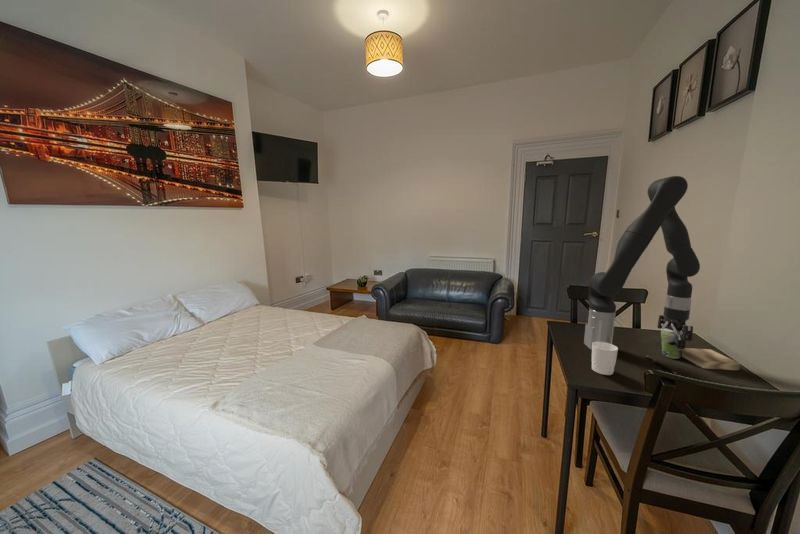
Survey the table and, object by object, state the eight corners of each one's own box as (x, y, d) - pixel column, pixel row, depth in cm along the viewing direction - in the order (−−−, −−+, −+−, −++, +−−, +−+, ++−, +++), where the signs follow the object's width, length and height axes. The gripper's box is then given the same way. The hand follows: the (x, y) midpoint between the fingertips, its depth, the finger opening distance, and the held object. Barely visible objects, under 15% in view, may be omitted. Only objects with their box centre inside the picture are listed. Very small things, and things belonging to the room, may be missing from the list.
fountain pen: (679, 376, 103) (680, 372, 103) (676, 376, 103) (676, 372, 103) (645, 357, 117) (645, 354, 117) (642, 357, 117) (642, 354, 117)
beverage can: (685, 360, 114) (690, 332, 112) (664, 359, 115) (668, 331, 113) (674, 353, 120) (678, 327, 118) (654, 352, 121) (658, 326, 119)
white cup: (595, 363, 112) (597, 339, 110) (618, 372, 105) (621, 347, 104) (585, 369, 108) (588, 344, 106) (609, 378, 101) (612, 352, 100)
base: (702, 368, 108) (704, 360, 107) (677, 354, 119) (678, 347, 119) (739, 370, 106) (740, 363, 106) (709, 355, 118) (710, 349, 117)
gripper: (653, 301, 121) (649, 337, 124) (681, 311, 108) (675, 351, 110) (673, 302, 120) (668, 337, 123) (703, 312, 106) (697, 352, 109)
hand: (672, 344), depth 116 cm, fingers open, 8 cm apart
